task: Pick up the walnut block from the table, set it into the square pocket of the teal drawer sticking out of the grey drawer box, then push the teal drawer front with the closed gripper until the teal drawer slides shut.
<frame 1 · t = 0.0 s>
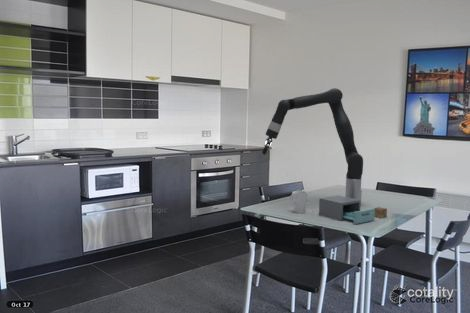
hand: (263, 153, 269), 31 cm above the table, tool tilted 20°, fingers open, 8 cm apart
teal drawer: (353, 213, 232), point 3 cm above the table, slide at 8.0 cm
walnut block: (380, 217, 239), on the table
mug: (297, 211, 248), on the table
grey drawer box: (339, 215, 240), on the table
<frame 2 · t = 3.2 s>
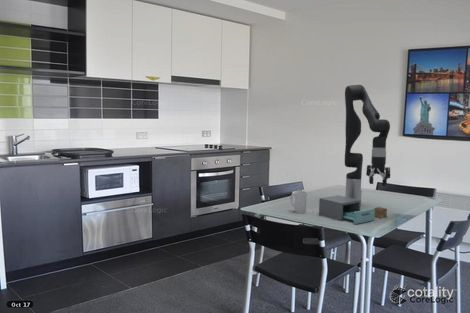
hand: (377, 184, 235), 19 cm above the table, tool pointing down, fingers open, 8 cm apart
nothing on the table moved.
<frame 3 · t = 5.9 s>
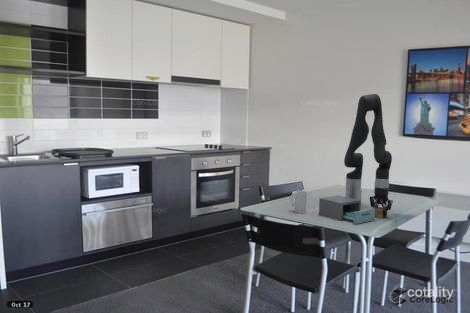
hand: (380, 216, 239), 0 cm above the table, tool pointing down, fingers closed on walnut block, 5 cm apart
walnut block: (380, 216, 239), on the table, touching gripper
everything else where it was.
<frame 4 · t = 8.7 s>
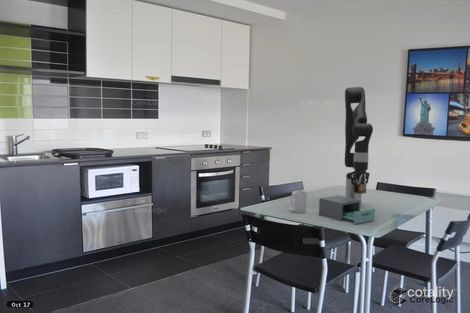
hand: (359, 191, 228), 16 cm above the table, tool pointing down, fingers closed on walnut block, 5 cm apart
walnut block: (359, 192, 228), point 15 cm above the table, touching gripper
everything else where it was.
when the fingers open (4 cm above the table, at t = 11.4 s): walnut block drops 2 cm, resting on teal drawer.
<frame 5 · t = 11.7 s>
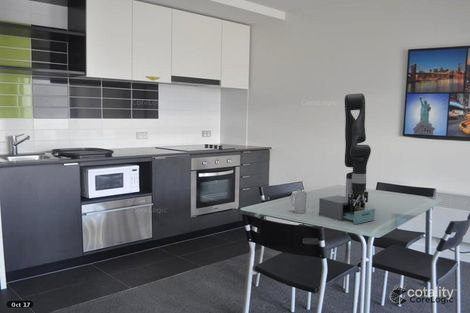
hand: (357, 211, 229), 5 cm above the table, tool pointing down, fingers open, 8 cm apart
teal drawer: (353, 213, 232), point 3 cm above the table, slide at 8.0 cm, touching walnut block
walnut block: (357, 216, 230), point 2 cm above the table, touching teal drawer
everything else where it was.
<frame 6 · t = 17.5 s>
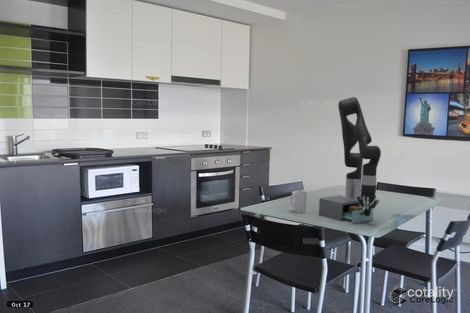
hand: (367, 215, 225), 4 cm above the table, tool pointing down, fingers closed
teal drawer: (351, 212, 233), point 3 cm above the table, slide at 6.8 cm, touching gripper, walnut block
walnut block: (355, 216, 231), point 2 cm above the table, touching teal drawer
everything else where it was.
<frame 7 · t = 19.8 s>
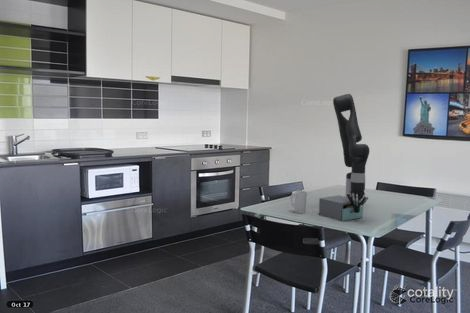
hand: (356, 212, 230), 4 cm above the table, tool pointing down, fingers closed
teal drawer: (342, 210, 238), point 3 cm above the table, slide at 0.3 cm, touching gripper, walnut block
walnut block: (345, 213, 236), point 2 cm above the table, touching teal drawer
everything else where it was.
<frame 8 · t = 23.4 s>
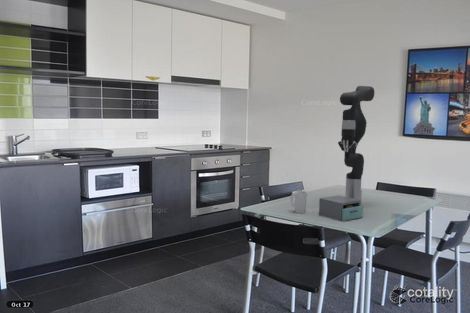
hand: (347, 158, 242), 32 cm above the table, tool pointing down, fingers closed
teal drawer: (342, 210, 238), point 3 cm above the table, slide at 0.2 cm, touching walnut block
everything else where it was.
at the end: teal drawer slide at 0.2 cm; walnut block inside the target area on the grey drawer box (4.3 cm from its centre), point 2.1 cm above the grey drawer box's base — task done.
